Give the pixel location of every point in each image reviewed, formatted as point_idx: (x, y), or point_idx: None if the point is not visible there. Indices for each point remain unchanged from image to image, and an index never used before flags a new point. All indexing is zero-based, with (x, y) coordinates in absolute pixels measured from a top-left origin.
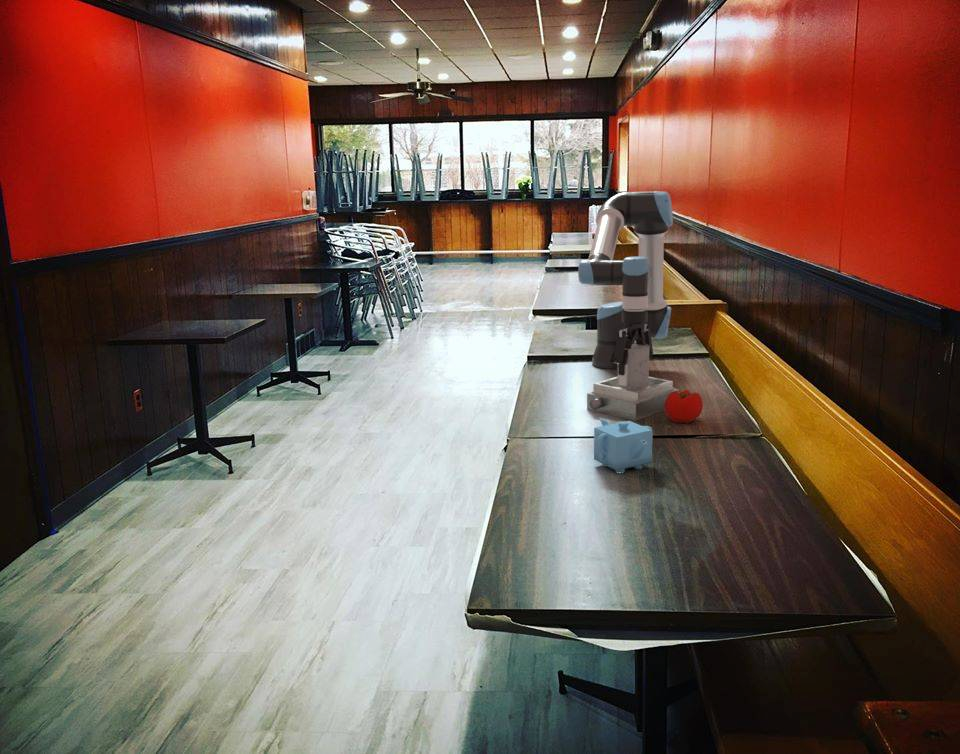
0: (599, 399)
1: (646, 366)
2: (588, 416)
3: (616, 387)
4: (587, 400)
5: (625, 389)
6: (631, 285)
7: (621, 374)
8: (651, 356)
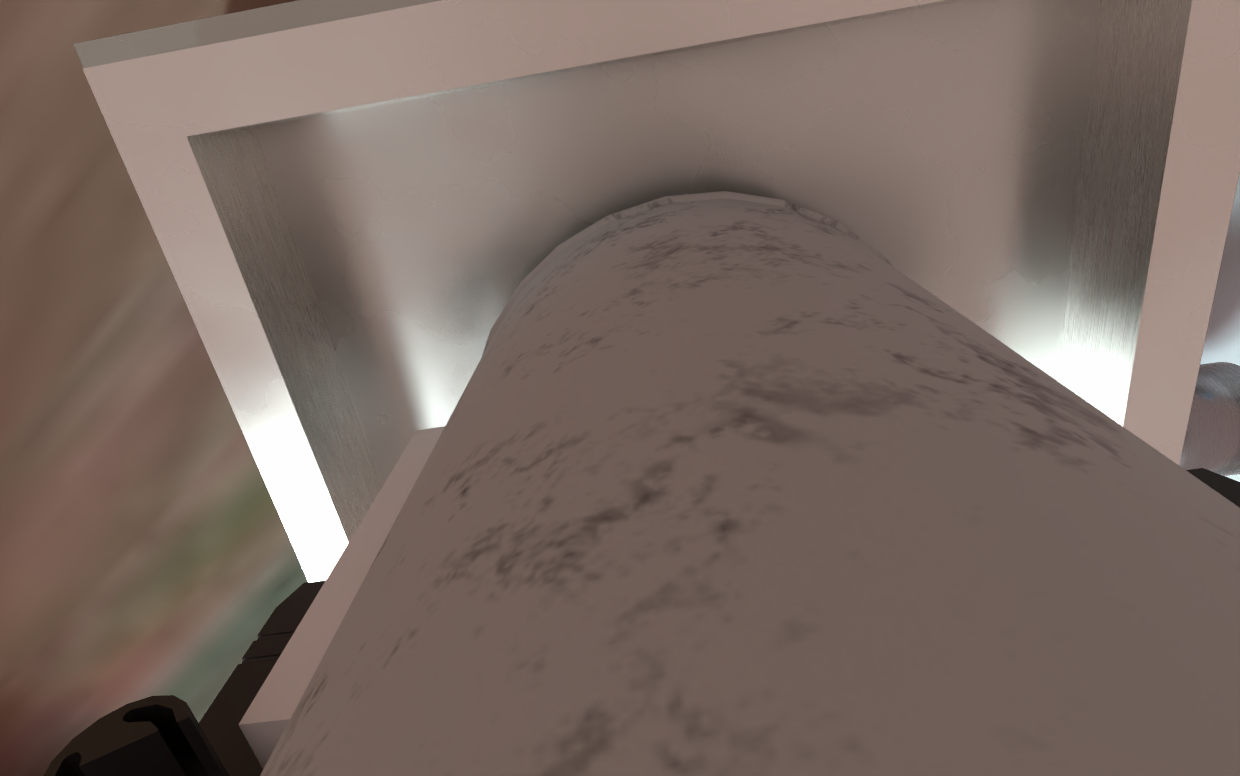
0: (1195, 431)
1: (710, 318)
2: (1236, 359)
3: (1139, 399)
4: None
5: (1179, 216)
6: None
7: (1225, 494)
8: (79, 742)
